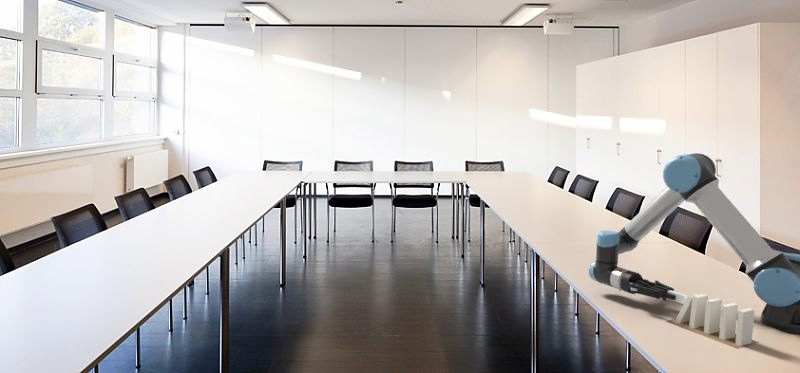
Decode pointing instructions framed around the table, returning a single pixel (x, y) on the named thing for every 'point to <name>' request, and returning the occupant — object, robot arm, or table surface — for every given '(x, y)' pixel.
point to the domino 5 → (744, 326)
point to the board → (713, 335)
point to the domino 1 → (685, 310)
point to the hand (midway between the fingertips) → (686, 300)
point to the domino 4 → (728, 321)
